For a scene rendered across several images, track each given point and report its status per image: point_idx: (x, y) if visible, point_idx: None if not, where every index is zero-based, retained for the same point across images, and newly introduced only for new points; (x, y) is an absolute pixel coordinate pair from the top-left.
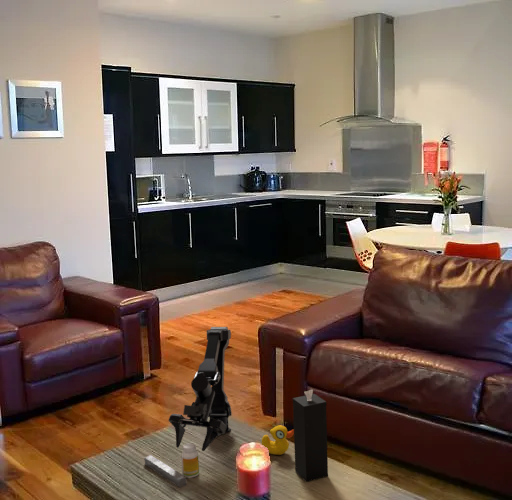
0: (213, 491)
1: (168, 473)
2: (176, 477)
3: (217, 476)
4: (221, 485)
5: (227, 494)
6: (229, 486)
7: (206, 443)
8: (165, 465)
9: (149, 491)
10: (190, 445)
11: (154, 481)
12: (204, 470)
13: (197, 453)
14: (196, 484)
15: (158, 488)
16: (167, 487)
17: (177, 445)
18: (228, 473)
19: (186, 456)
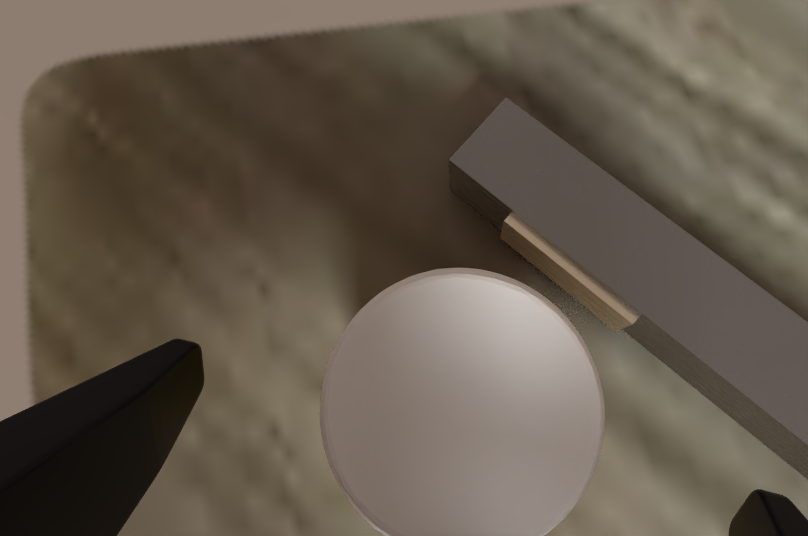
0: (184, 102)
1: (682, 232)
2: (553, 141)
3: None
4: (125, 203)
5: (66, 71)
6: (55, 192)
7: (40, 417)
8: (802, 417)
9: (770, 45)
10: (431, 415)
11: (803, 222)
12: (327, 488)
13: (320, 401)
14: (354, 201)
15: (703, 101)
16: (620, 126)
17: (764, 504)
18: None
19: (479, 270)
